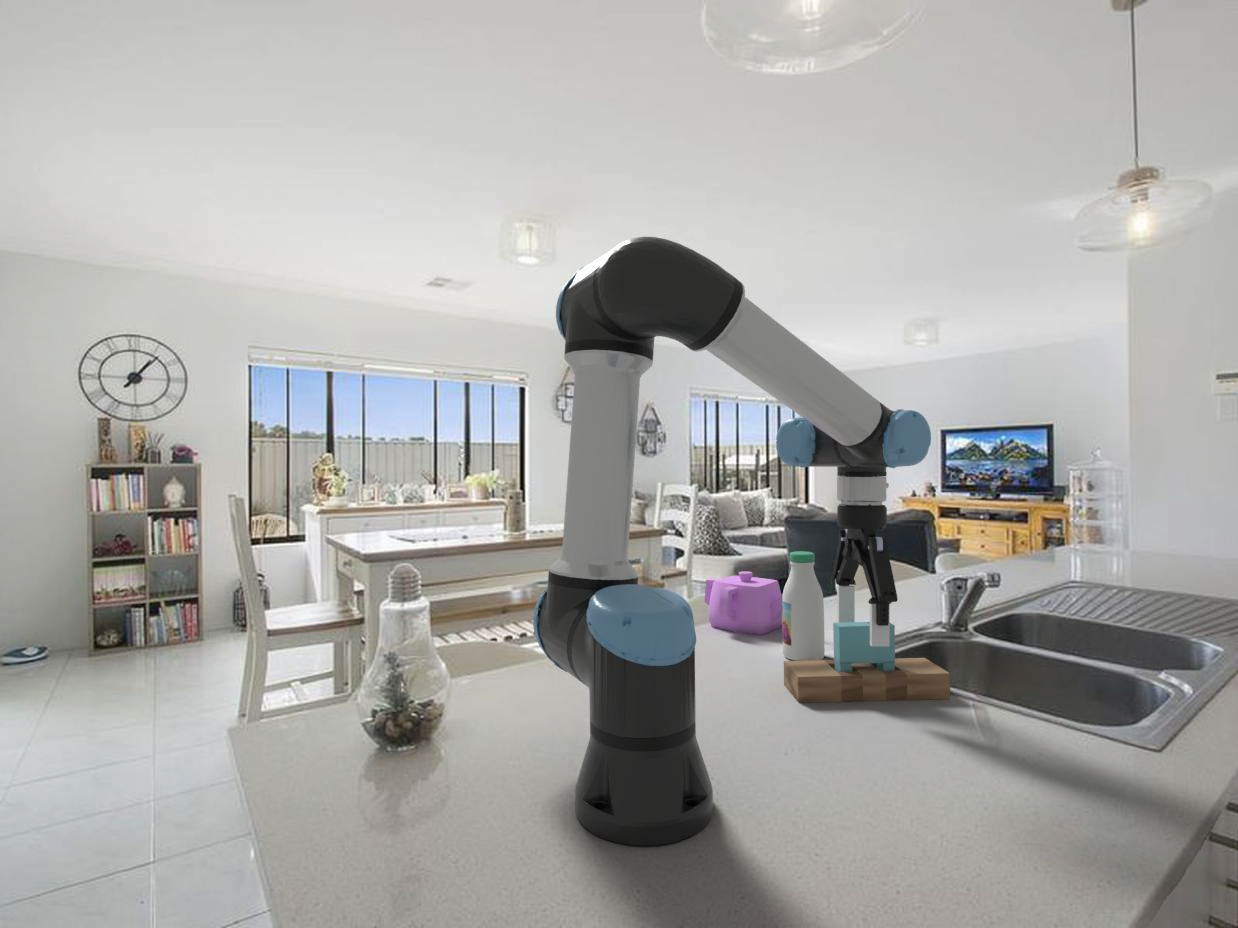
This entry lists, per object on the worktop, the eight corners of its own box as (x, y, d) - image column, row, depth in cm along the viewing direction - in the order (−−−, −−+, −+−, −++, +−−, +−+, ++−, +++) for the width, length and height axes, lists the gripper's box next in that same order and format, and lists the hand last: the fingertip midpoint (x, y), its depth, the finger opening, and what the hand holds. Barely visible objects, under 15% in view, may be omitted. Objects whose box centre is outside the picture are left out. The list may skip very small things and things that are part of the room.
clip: (895, 693, 104) (894, 625, 104) (840, 695, 104) (839, 626, 104) (888, 688, 107) (887, 621, 107) (834, 689, 107) (833, 622, 107)
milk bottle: (829, 654, 126) (828, 551, 126) (818, 665, 119) (816, 556, 119) (790, 648, 130) (788, 548, 130) (777, 659, 123) (775, 553, 123)
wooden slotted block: (950, 698, 102) (949, 673, 102) (798, 702, 101) (798, 676, 101) (924, 681, 110) (924, 657, 110) (784, 684, 109) (783, 660, 109)
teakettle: (701, 618, 156) (700, 567, 156) (770, 615, 158) (769, 564, 158) (719, 637, 139) (719, 580, 139) (796, 634, 141) (796, 577, 141)
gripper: (922, 508, 93) (922, 656, 93) (854, 499, 118) (854, 615, 118) (870, 508, 93) (870, 656, 93) (813, 499, 118) (813, 616, 118)
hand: (861, 634), depth 105 cm, fingers open, 13 cm apart
